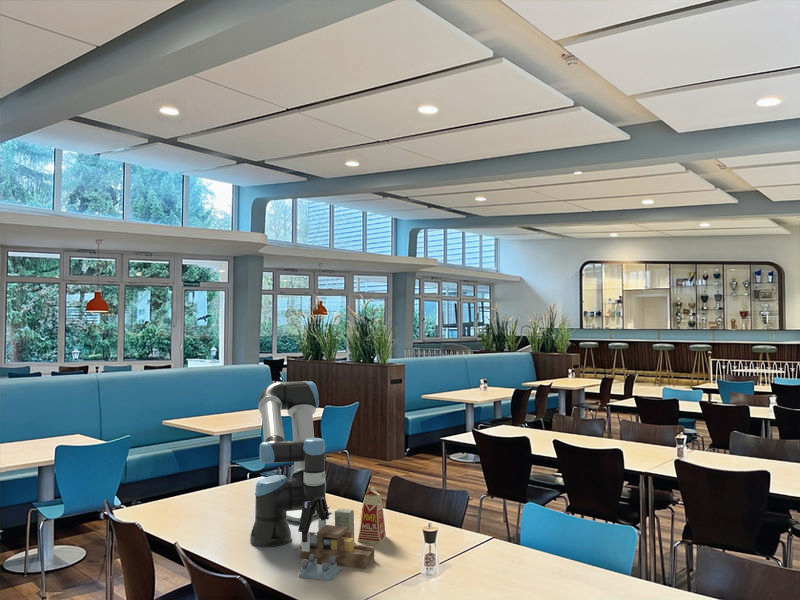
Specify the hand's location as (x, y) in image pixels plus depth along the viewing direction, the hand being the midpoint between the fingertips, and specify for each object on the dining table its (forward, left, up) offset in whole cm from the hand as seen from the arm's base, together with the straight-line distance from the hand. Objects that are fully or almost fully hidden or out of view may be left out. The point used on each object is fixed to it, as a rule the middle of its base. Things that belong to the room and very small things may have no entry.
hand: (314, 544), depth 223 cm
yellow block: (+11, 0, -1) cm, 11 cm away
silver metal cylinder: (+2, 0, -1) cm, 2 cm away
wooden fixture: (+8, 0, -5) cm, 9 cm away
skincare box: (+5, +16, -5) cm, 18 cm away
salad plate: (-28, +43, -5) cm, 52 cm away
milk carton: (+13, +24, -5) cm, 28 cm away
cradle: (+8, -12, -5) cm, 15 cm away
